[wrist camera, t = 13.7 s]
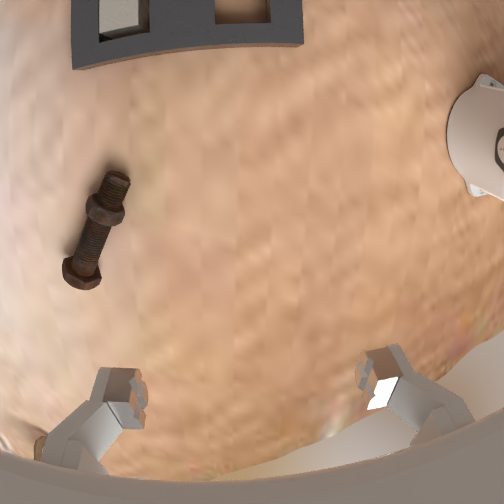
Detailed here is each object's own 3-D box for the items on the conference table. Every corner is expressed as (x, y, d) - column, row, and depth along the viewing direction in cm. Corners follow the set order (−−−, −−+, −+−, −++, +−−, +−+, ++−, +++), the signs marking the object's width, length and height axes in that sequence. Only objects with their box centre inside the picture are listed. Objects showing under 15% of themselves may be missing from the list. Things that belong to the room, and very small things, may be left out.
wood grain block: (148, 1, 26) (138, -11, 21) (148, 32, 28) (138, 24, 23) (114, 8, 25) (99, -2, 21) (114, 39, 27) (99, 33, 23)
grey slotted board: (293, -29, 25) (299, -38, 22) (297, 47, 30) (304, 43, 27) (81, -5, 24) (71, -11, 21) (83, 70, 28) (72, 69, 26)
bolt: (133, 171, 37) (92, 265, 42) (96, 159, 33) (60, 260, 38) (145, 193, 33) (100, 294, 38) (103, 181, 30) (65, 290, 35)
